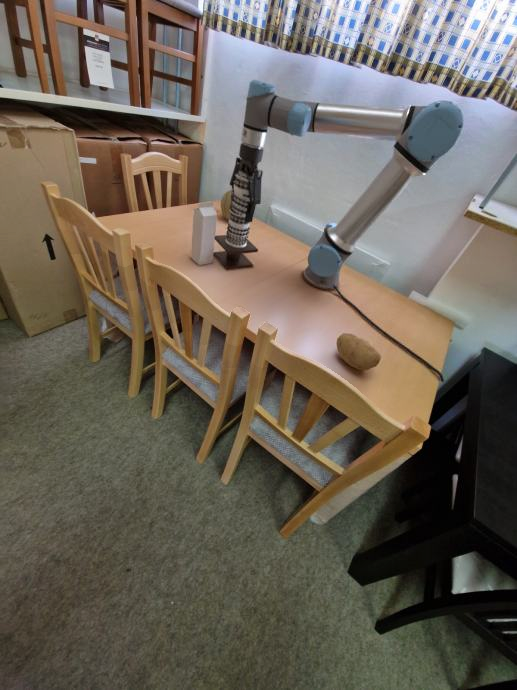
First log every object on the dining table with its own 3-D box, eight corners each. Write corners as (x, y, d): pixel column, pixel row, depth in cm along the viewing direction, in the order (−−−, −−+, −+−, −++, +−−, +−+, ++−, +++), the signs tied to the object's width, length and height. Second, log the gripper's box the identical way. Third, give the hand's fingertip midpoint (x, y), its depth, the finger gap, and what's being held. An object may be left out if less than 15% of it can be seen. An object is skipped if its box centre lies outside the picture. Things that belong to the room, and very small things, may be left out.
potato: (341, 342, 97) (351, 323, 92) (377, 369, 91) (390, 351, 86) (324, 353, 91) (334, 334, 86) (361, 383, 85) (374, 364, 80)
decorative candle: (250, 241, 119) (263, 173, 102) (243, 250, 112) (257, 179, 95) (228, 234, 119) (239, 166, 102) (221, 243, 112) (230, 171, 96)
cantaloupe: (242, 229, 146) (248, 197, 136) (214, 220, 146) (218, 188, 136) (250, 219, 157) (256, 190, 147) (224, 211, 157) (228, 181, 147)
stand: (254, 267, 121) (258, 249, 115) (226, 270, 114) (229, 251, 109) (239, 251, 128) (242, 234, 122) (212, 254, 121) (214, 235, 116)
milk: (212, 262, 116) (219, 205, 102) (199, 265, 113) (204, 207, 98) (203, 255, 119) (208, 198, 104) (190, 258, 115) (194, 199, 101)
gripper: (225, 133, 98) (218, 202, 113) (261, 155, 85) (247, 229, 100) (244, 136, 102) (235, 202, 117) (281, 157, 89) (265, 228, 104)
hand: (240, 215), depth 108 cm, fingers open, 11 cm apart
